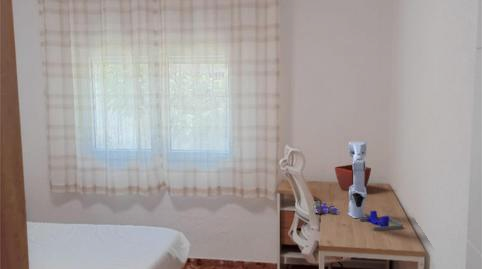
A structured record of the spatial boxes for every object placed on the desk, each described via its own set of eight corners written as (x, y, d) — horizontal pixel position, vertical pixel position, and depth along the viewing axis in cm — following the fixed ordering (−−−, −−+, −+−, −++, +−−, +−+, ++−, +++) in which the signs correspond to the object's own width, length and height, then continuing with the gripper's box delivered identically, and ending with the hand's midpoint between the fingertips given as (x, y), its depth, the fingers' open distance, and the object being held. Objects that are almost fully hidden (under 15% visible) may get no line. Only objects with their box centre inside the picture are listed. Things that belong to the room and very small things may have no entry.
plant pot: (352, 194, 290) (352, 170, 288) (334, 189, 306) (334, 167, 305) (371, 190, 299) (371, 167, 298) (352, 185, 316) (352, 164, 314)
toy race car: (339, 215, 241) (339, 204, 241) (313, 214, 243) (313, 204, 243) (338, 210, 251) (338, 200, 250) (313, 210, 253) (313, 199, 252)
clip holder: (359, 220, 228) (359, 217, 228) (386, 218, 231) (386, 215, 231) (374, 230, 212) (374, 226, 212) (402, 228, 215) (402, 224, 215)
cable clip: (367, 221, 227) (368, 211, 227) (374, 221, 229) (374, 210, 228) (381, 228, 216) (381, 217, 215) (388, 227, 217) (388, 216, 217)
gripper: (346, 179, 226) (346, 203, 227) (357, 185, 212) (357, 210, 213) (358, 179, 227) (357, 202, 229) (370, 184, 213) (370, 210, 214)
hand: (358, 206), depth 221 cm, fingers closed
